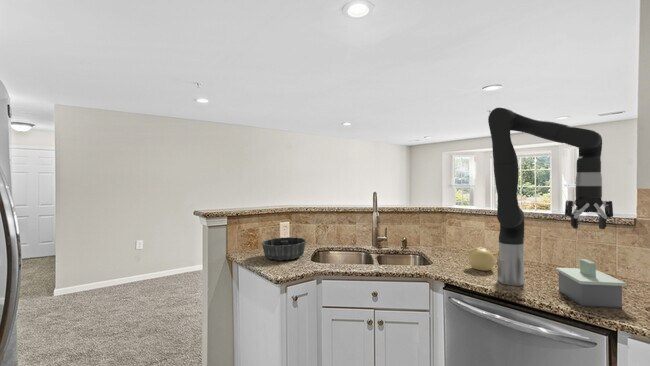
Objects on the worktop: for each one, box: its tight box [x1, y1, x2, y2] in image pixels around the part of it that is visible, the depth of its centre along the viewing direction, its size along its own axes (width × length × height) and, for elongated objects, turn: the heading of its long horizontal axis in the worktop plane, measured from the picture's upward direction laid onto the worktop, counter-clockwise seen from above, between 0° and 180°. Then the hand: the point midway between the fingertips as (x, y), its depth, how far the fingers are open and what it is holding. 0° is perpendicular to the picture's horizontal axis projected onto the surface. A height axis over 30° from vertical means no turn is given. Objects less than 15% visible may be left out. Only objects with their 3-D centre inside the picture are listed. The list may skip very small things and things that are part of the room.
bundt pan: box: [261, 236, 307, 261], centre depth 192 cm, size 26×26×10 cm
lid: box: [555, 258, 627, 287], centre depth 119 cm, size 13×17×7 cm
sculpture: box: [467, 246, 496, 272], centre depth 160 cm, size 12×12×11 cm
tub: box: [558, 272, 623, 309], centre depth 119 cm, size 12×16×8 cm
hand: (588, 228), depth 119 cm, fingers open, 8 cm apart
